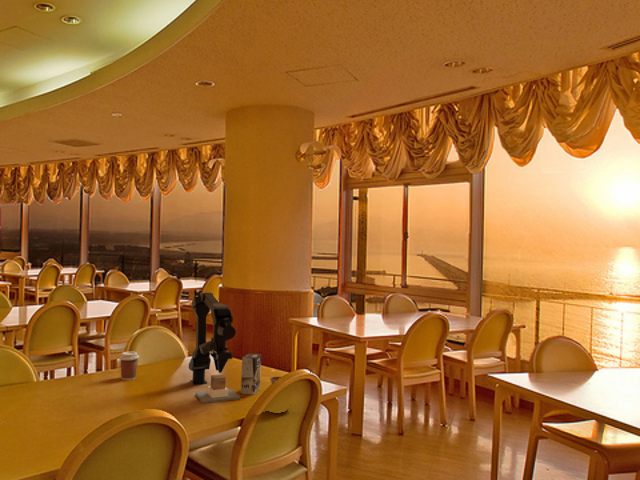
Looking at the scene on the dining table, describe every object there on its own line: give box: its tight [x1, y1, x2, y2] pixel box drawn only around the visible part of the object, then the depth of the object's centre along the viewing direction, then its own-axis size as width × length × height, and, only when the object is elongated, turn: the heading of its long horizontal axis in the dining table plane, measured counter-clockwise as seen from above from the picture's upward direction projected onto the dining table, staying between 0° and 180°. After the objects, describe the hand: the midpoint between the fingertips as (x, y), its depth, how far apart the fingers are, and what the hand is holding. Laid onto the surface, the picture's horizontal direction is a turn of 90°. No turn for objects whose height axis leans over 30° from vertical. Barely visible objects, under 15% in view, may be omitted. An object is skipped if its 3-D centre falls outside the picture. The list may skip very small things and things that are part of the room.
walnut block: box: [210, 373, 227, 390], centre depth 222 cm, size 5×5×5 cm
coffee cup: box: [118, 351, 140, 381], centre depth 246 cm, size 9×9×12 cm
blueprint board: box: [195, 385, 241, 404], centre depth 222 cm, size 12×16×4 cm
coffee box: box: [240, 353, 262, 396], centre depth 232 cm, size 9×6×16 cm
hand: (218, 371), depth 222 cm, fingers open, 4 cm apart
